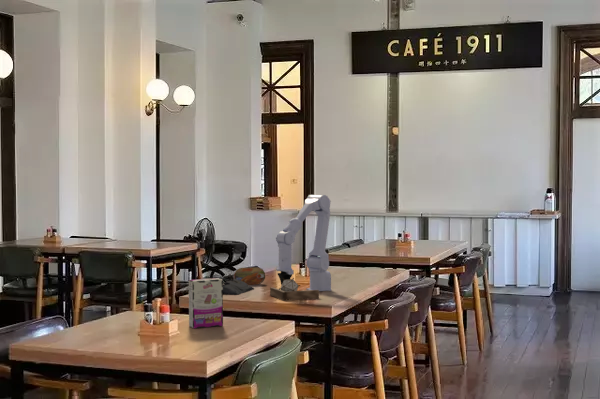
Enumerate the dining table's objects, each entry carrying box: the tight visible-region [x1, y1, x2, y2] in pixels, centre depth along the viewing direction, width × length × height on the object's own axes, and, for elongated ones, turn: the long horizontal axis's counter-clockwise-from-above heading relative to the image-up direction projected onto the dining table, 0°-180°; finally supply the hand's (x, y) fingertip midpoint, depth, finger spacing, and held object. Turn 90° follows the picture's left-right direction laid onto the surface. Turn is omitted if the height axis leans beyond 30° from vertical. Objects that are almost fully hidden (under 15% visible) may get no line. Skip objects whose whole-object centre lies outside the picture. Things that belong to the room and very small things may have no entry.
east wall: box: [269, 287, 287, 301], centre depth 334 cm, size 2×15×4 cm, turn 25°
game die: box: [278, 277, 301, 292], centre depth 338 cm, size 9×8×10 cm
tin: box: [233, 266, 266, 286], centre depth 375 cm, size 15×3×8 cm, turn 102°
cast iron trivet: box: [223, 278, 255, 296], centre depth 353 cm, size 15×22×5 cm
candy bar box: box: [188, 277, 224, 329], centre depth 269 cm, size 11×5×16 cm, turn 117°
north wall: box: [282, 289, 320, 301], centre depth 331 cm, size 16×2×4 cm, turn 115°
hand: (284, 288), depth 344 cm, fingers closed
